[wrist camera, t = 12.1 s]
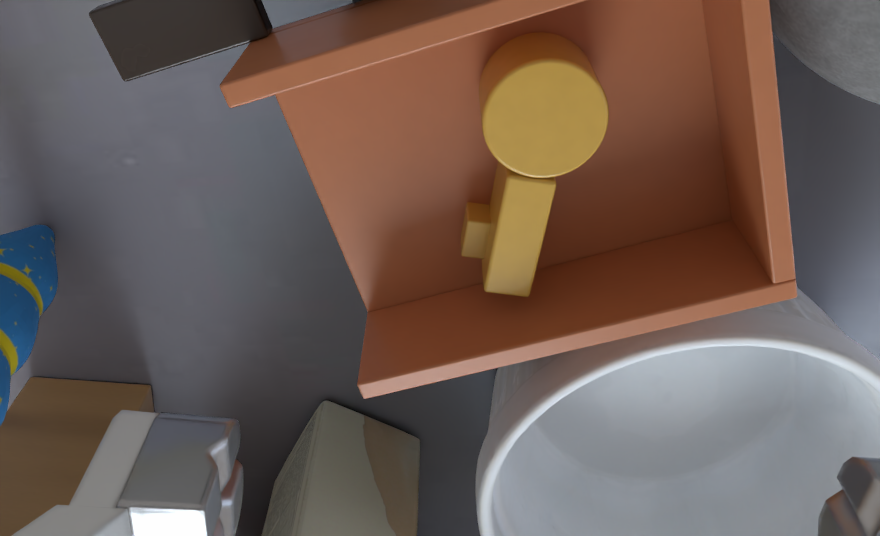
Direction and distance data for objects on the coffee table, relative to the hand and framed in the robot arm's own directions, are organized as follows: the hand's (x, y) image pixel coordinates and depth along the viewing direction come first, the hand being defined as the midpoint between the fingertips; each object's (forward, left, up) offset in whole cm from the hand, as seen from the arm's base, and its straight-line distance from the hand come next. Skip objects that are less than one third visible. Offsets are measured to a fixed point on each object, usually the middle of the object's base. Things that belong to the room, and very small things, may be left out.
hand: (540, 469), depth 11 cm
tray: (-1, -1, -10) cm, 10 cm away
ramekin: (+12, +3, -16) cm, 20 cm away
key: (0, +1, -10) cm, 10 cm away
